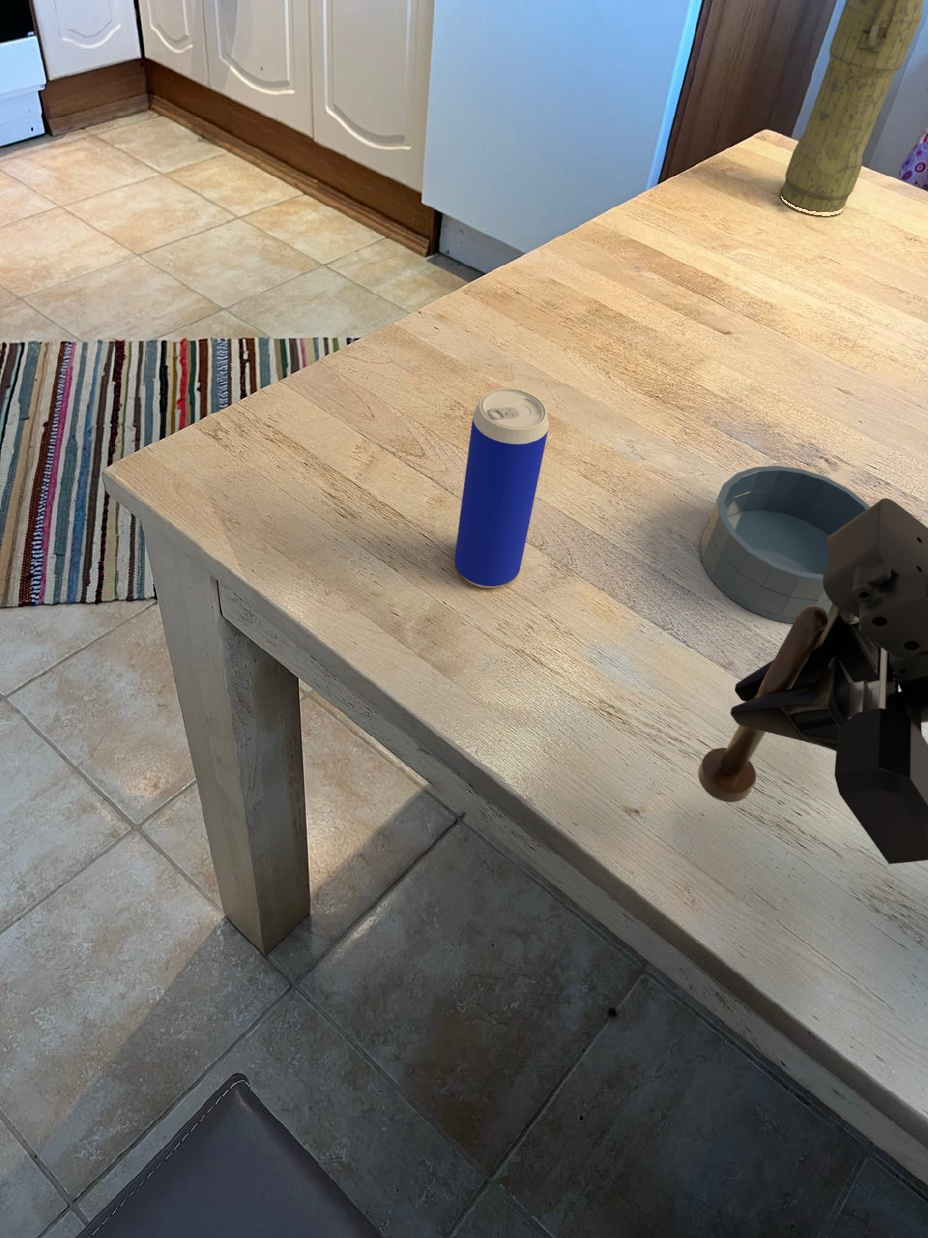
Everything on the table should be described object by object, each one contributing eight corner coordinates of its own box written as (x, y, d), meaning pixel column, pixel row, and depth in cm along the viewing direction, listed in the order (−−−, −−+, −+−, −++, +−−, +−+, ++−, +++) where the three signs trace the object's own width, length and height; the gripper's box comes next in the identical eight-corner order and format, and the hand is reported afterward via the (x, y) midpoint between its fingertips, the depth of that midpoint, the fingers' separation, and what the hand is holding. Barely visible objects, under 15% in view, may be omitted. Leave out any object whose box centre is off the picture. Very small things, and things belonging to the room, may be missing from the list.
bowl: (870, 544, 81) (895, 499, 77) (847, 648, 72) (875, 603, 68) (720, 492, 83) (738, 447, 80) (682, 586, 75) (700, 540, 71)
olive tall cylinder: (842, 190, 132) (965, -124, 106) (846, 227, 124) (980, -104, 98) (778, 178, 132) (885, -137, 106) (778, 213, 124) (894, -118, 99)
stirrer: (756, 769, 57) (856, 600, 46) (744, 811, 55) (846, 644, 44) (704, 748, 57) (791, 576, 46) (691, 789, 55) (778, 619, 44)
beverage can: (500, 539, 76) (528, 380, 65) (530, 582, 73) (565, 423, 62) (442, 554, 74) (461, 393, 63) (471, 599, 72) (496, 438, 60)
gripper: (984, 378, 44) (689, 492, 54) (1008, 658, 32) (621, 742, 42) (1063, 548, 49) (779, 626, 59) (1111, 851, 37) (741, 886, 46)
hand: (736, 704), depth 51 cm, fingers closed on stirrer
